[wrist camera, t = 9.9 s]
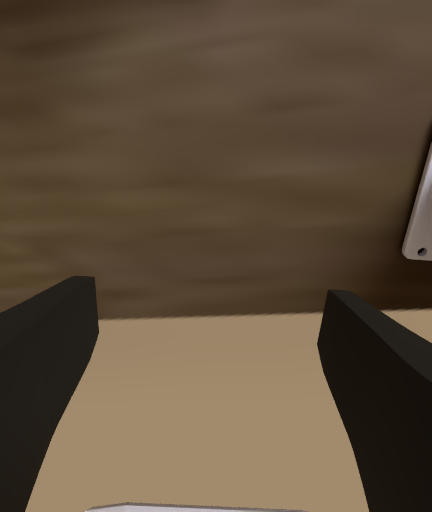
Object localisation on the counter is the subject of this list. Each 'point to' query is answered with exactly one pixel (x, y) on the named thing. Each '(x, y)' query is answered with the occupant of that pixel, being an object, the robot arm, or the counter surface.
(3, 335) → the robot arm
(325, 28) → the counter surface
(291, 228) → the counter surface
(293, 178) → the counter surface
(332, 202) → the counter surface
